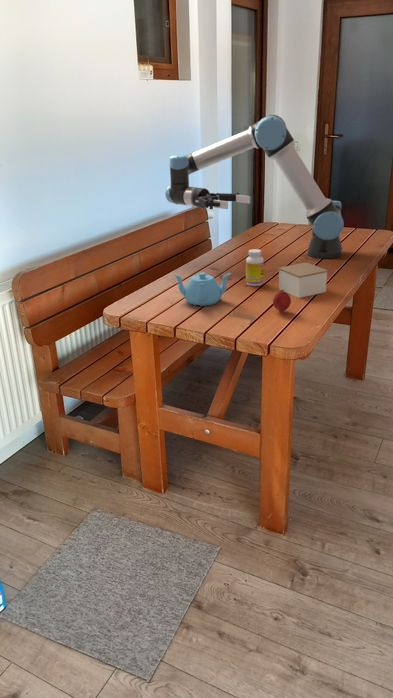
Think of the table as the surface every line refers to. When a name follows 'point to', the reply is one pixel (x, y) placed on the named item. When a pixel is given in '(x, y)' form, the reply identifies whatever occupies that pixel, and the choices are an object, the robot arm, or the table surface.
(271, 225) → the table surface
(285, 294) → the onion
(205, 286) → the teapot
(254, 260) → the supplement bottle
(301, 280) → the riser block
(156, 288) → the table surface
